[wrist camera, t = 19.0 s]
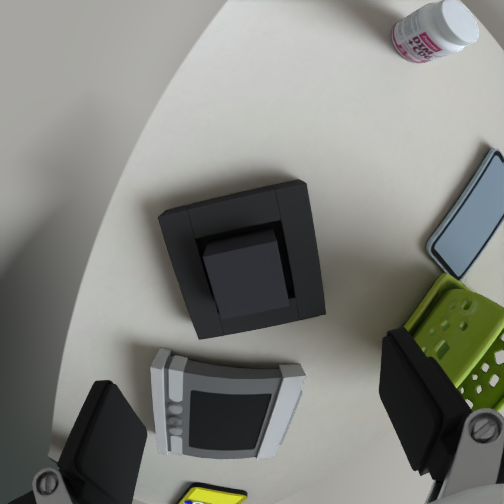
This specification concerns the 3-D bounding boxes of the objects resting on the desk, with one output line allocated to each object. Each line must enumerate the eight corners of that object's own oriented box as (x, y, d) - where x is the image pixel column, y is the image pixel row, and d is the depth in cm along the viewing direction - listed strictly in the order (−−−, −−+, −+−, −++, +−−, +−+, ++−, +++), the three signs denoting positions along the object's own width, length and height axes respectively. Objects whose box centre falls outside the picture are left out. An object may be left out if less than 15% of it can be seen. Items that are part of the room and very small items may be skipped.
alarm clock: (150, 367, 27) (312, 393, 28) (163, 341, 32) (308, 365, 32) (158, 453, 33) (276, 472, 33) (166, 429, 37) (276, 447, 38)
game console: (191, 480, 41) (191, 487, 40) (250, 490, 43) (250, 497, 42) (173, 506, 47) (172, 511, 45) (221, 515, 49) (220, 520, 47)
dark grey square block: (224, 296, 28) (221, 319, 24) (208, 240, 26) (202, 256, 22) (283, 284, 27) (289, 306, 24) (271, 226, 26) (276, 240, 22)
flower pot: (490, 297, 30) (549, 348, 18) (430, 378, 34) (471, 441, 22) (434, 252, 28) (512, 309, 16) (362, 354, 32) (403, 438, 20)
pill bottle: (389, 55, 21) (438, 31, 13) (389, 15, 20) (433, -16, 12) (430, 71, 22) (484, 56, 14) (429, 32, 20) (479, 10, 12)
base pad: (201, 325, 30) (198, 340, 27) (165, 210, 26) (157, 216, 23) (320, 301, 29) (326, 314, 27) (300, 179, 25) (306, 182, 23)
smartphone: (425, 249, 27) (496, 144, 23) (421, 246, 28) (491, 143, 24) (457, 285, 28) (521, 189, 24) (453, 282, 29) (516, 188, 25)
